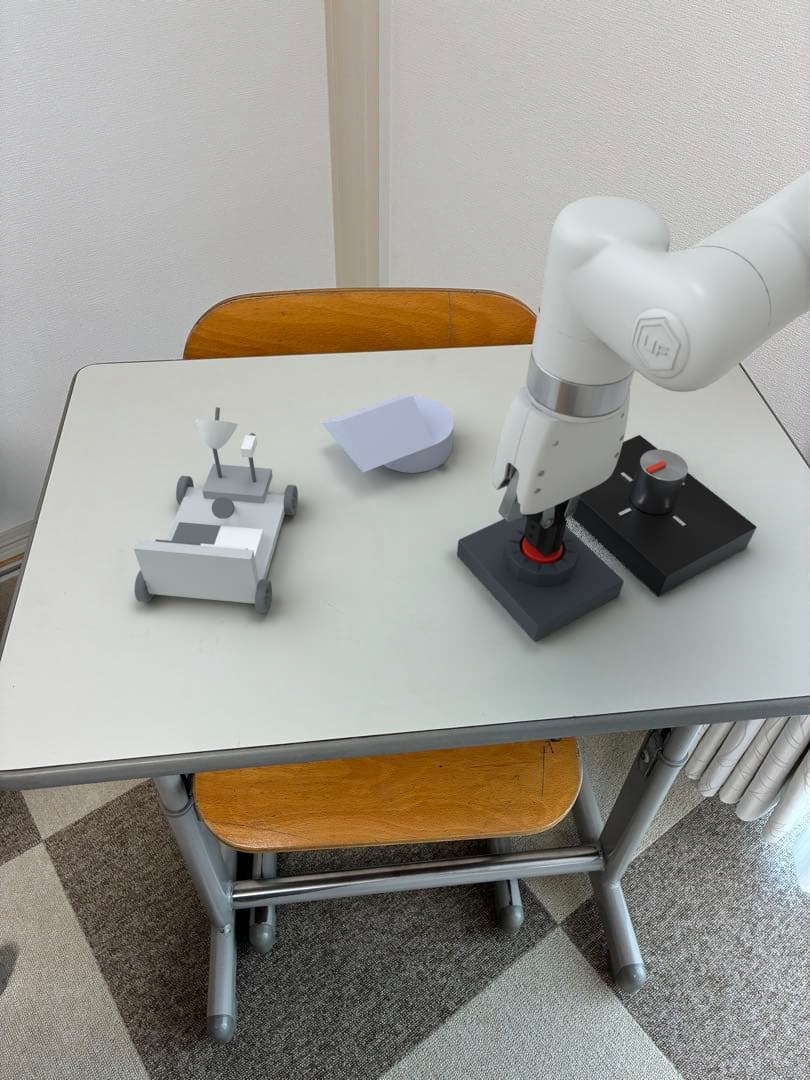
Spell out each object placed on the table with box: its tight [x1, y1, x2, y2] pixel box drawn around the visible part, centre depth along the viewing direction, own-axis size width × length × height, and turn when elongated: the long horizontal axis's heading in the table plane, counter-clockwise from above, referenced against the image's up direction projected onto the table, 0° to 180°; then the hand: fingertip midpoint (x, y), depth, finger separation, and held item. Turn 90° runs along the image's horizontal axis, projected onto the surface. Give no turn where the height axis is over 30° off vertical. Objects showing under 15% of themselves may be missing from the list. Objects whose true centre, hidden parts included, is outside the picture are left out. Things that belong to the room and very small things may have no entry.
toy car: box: [133, 407, 299, 614], centre depth 74 cm, size 18×10×12 cm
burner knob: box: [630, 448, 689, 514], centre depth 76 cm, size 4×4×5 cm
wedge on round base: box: [321, 394, 455, 474], centre depth 84 cm, size 9×7×13 cm
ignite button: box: [521, 538, 563, 564], centre depth 73 cm, size 4×4×2 cm
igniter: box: [456, 517, 625, 642], centre depth 74 cm, size 12×10×4 cm
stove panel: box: [571, 434, 758, 598], centre depth 79 cm, size 16×12×3 cm
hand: (541, 543), depth 72 cm, fingers closed
